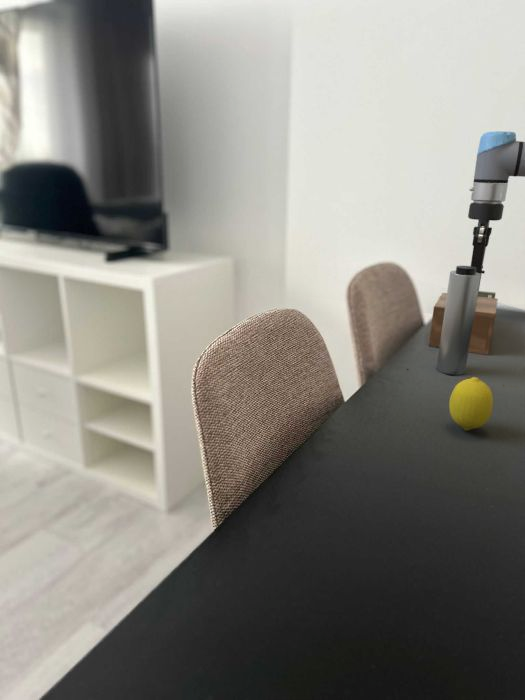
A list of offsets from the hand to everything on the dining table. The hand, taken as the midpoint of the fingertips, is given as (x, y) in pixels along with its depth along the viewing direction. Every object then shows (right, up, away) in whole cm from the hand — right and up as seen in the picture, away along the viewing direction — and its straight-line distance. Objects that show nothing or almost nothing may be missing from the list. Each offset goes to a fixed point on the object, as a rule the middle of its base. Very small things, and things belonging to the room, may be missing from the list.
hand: (471, 299), depth 129 cm
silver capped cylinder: (-18, -17, -35) cm, 43 cm away
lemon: (-24, -24, -57) cm, 67 cm away
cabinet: (-10, -11, -18) cm, 23 cm away
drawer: (-4, -6, -8) cm, 11 cm away
